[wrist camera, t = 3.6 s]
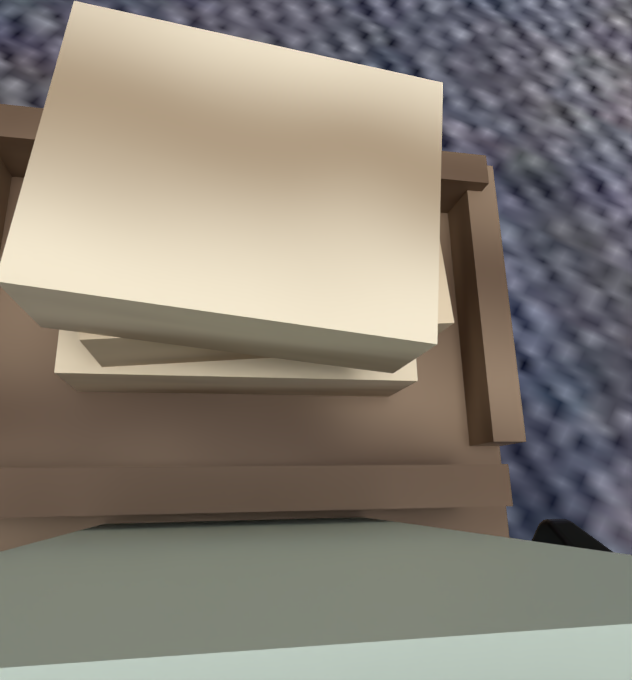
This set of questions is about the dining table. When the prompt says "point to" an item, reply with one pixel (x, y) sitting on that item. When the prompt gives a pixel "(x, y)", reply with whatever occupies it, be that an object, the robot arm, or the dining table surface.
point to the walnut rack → (270, 412)
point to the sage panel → (311, 604)
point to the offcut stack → (229, 216)
